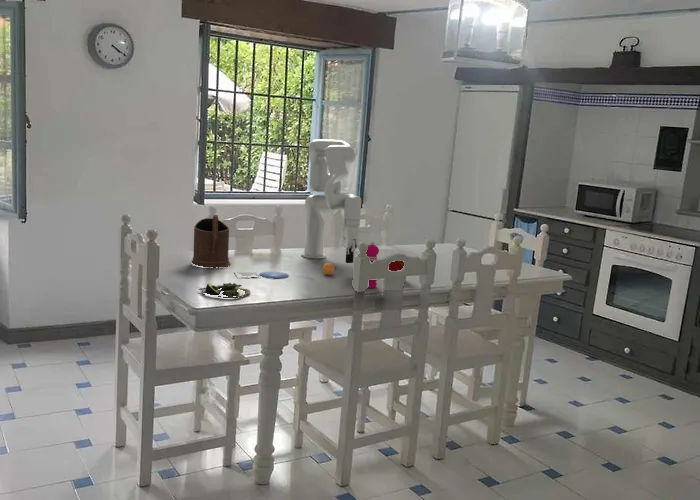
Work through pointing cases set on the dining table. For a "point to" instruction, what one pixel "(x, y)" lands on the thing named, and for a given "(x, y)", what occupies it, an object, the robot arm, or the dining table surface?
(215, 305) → the dining table surface
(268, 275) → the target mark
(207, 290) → the salad plate
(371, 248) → the pepper mill
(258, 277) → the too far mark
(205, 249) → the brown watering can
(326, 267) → the ball
